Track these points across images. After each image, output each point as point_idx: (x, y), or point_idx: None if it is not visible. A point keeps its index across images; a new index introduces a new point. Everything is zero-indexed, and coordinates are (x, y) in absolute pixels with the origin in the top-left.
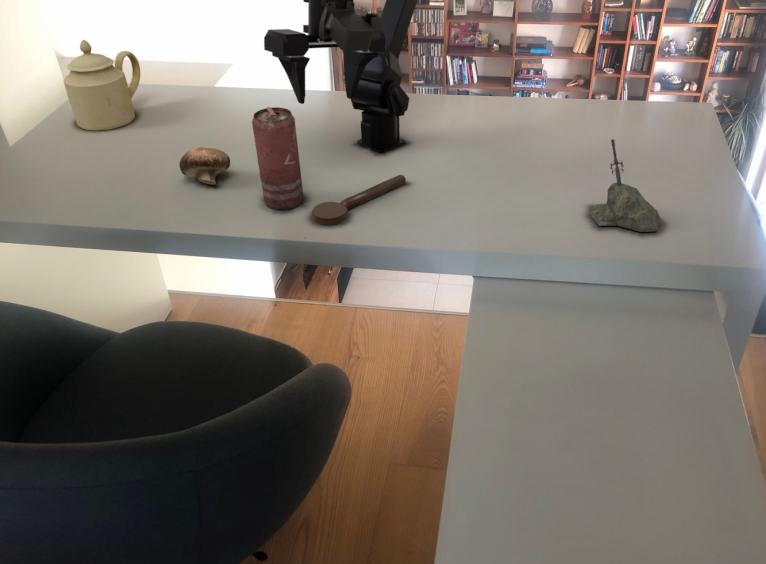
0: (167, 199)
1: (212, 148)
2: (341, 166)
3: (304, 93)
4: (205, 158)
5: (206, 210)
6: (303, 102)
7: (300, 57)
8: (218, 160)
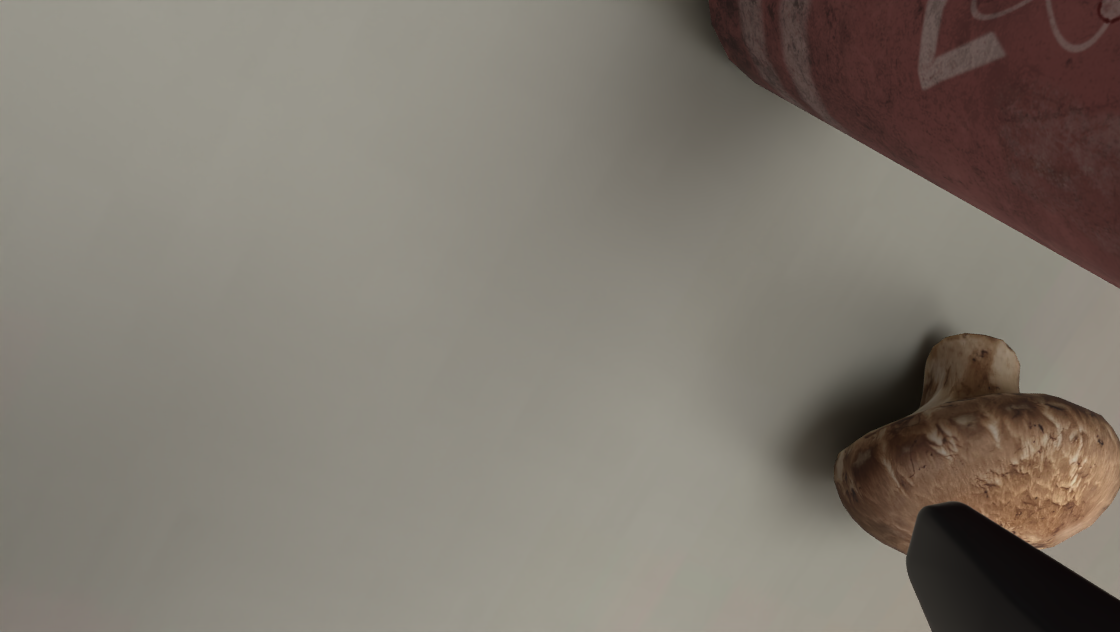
0: (1115, 314)
1: None
2: (188, 259)
3: (1038, 600)
4: (1082, 429)
5: None
6: (947, 511)
7: None
8: (1008, 417)
